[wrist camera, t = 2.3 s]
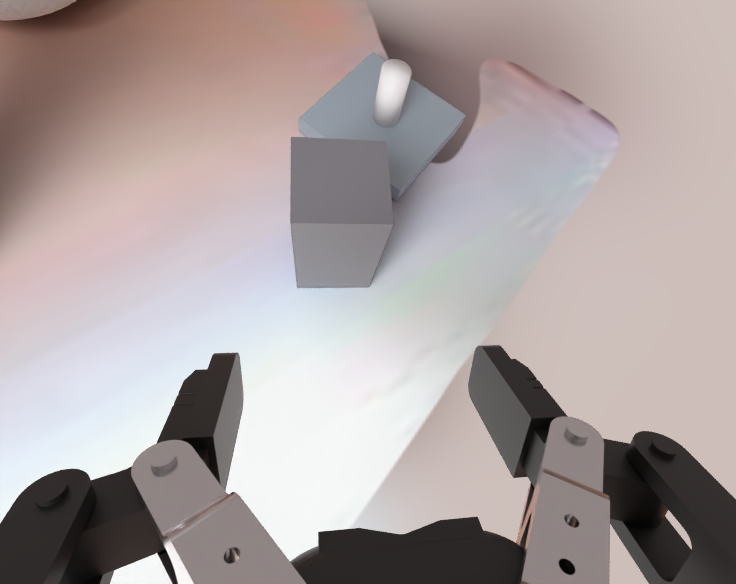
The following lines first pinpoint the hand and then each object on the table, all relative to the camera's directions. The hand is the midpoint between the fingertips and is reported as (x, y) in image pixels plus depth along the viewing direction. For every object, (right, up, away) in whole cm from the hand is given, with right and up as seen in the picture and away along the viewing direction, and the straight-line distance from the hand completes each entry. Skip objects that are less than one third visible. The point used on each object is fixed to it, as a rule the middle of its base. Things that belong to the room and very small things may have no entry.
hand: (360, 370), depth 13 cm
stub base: (+2, +17, +21) cm, 27 cm away
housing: (-2, +5, +16) cm, 17 cm away
